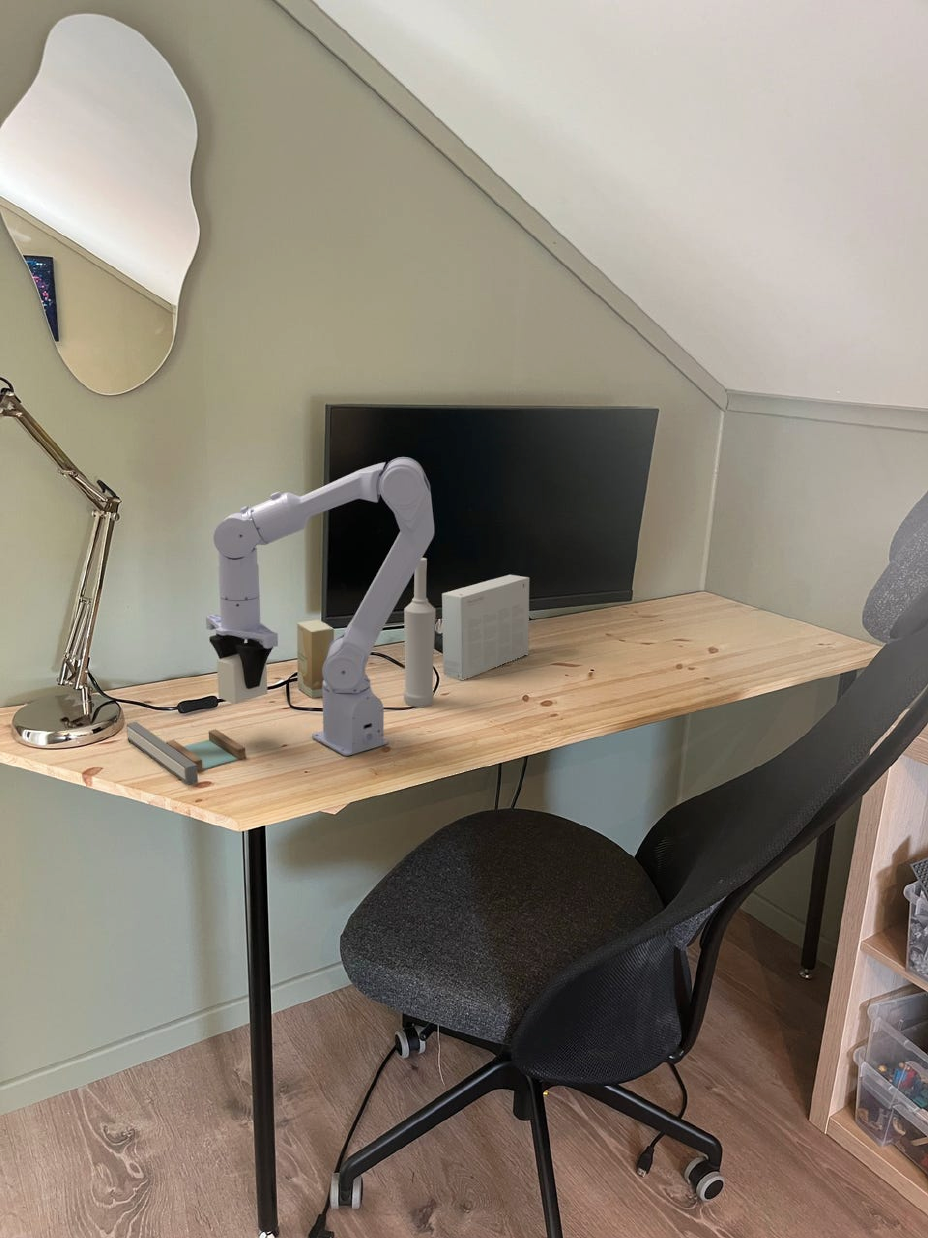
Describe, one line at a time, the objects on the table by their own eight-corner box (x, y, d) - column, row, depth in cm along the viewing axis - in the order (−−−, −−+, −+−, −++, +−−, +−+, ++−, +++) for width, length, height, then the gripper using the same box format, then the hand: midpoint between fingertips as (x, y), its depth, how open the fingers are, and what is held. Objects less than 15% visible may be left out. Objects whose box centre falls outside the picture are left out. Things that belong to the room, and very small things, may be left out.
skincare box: (296, 688, 171) (295, 621, 167) (319, 684, 173) (318, 618, 170) (312, 699, 165) (311, 631, 162) (335, 695, 168) (334, 627, 164)
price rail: (197, 781, 134) (196, 764, 133) (186, 784, 133) (185, 768, 132) (137, 737, 148) (136, 721, 147) (126, 739, 147) (125, 724, 146)
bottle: (426, 709, 162) (429, 563, 155) (398, 704, 164) (399, 560, 157) (438, 699, 167) (441, 557, 160) (410, 695, 169) (412, 554, 162)
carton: (267, 693, 147) (266, 656, 146) (235, 704, 143) (233, 665, 141) (250, 687, 150) (248, 650, 148) (218, 697, 145) (216, 659, 144)
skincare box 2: (507, 650, 196) (510, 573, 191) (529, 655, 192) (532, 577, 188) (439, 674, 180) (440, 591, 175) (462, 681, 176) (464, 597, 172)
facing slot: (245, 757, 142) (245, 747, 141) (194, 772, 136) (194, 761, 136) (216, 739, 148) (215, 729, 148) (166, 752, 143) (166, 742, 142)
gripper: (187, 592, 144) (191, 678, 147) (249, 610, 135) (252, 701, 139) (226, 584, 149) (229, 667, 153) (288, 601, 140) (290, 689, 144)
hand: (243, 683), depth 146 cm, fingers closed on carton, 4 cm apart
